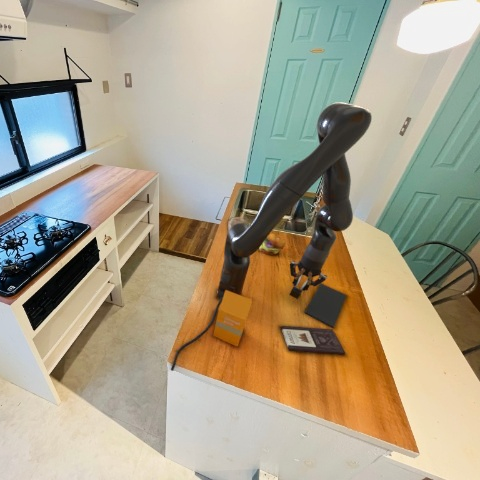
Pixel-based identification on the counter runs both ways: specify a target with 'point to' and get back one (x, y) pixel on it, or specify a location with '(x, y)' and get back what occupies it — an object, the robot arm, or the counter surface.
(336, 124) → the robot arm
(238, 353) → the counter surface
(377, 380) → the counter surface
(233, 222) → the fish fossil
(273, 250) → the cheeseburger
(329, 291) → the mat
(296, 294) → the tongs
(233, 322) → the orange juice
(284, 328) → the chocolate bar
